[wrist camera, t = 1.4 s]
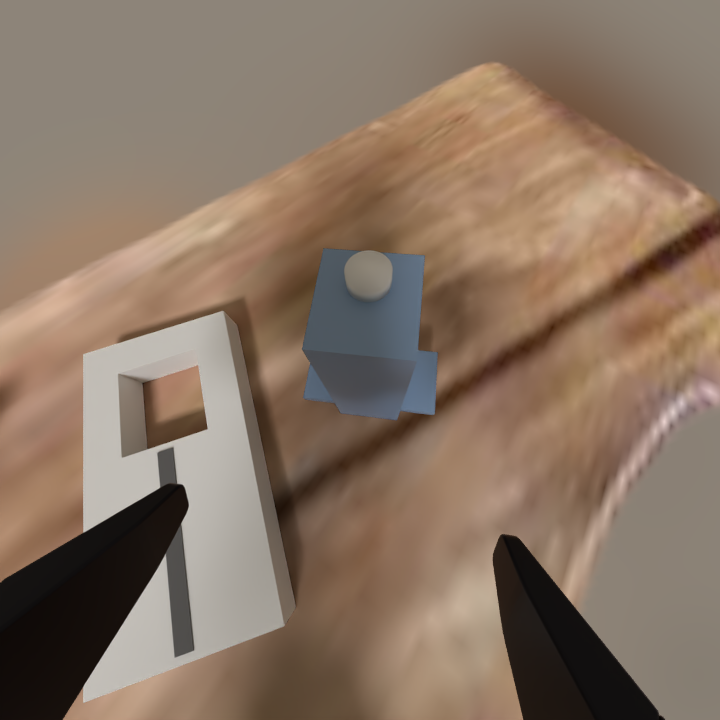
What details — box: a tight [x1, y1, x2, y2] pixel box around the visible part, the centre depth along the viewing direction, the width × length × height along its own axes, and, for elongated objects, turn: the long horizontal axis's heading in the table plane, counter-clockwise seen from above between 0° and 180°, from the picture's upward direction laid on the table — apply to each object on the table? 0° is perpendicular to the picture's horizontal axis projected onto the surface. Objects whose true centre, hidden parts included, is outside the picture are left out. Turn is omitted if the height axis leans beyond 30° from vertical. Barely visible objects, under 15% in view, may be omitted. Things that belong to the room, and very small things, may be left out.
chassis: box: [83, 311, 296, 703], centre depth 21 cm, size 21×11×3 cm, turn 19°
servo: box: [302, 248, 438, 420], centre depth 17 cm, size 5×9×13 cm, turn 82°
